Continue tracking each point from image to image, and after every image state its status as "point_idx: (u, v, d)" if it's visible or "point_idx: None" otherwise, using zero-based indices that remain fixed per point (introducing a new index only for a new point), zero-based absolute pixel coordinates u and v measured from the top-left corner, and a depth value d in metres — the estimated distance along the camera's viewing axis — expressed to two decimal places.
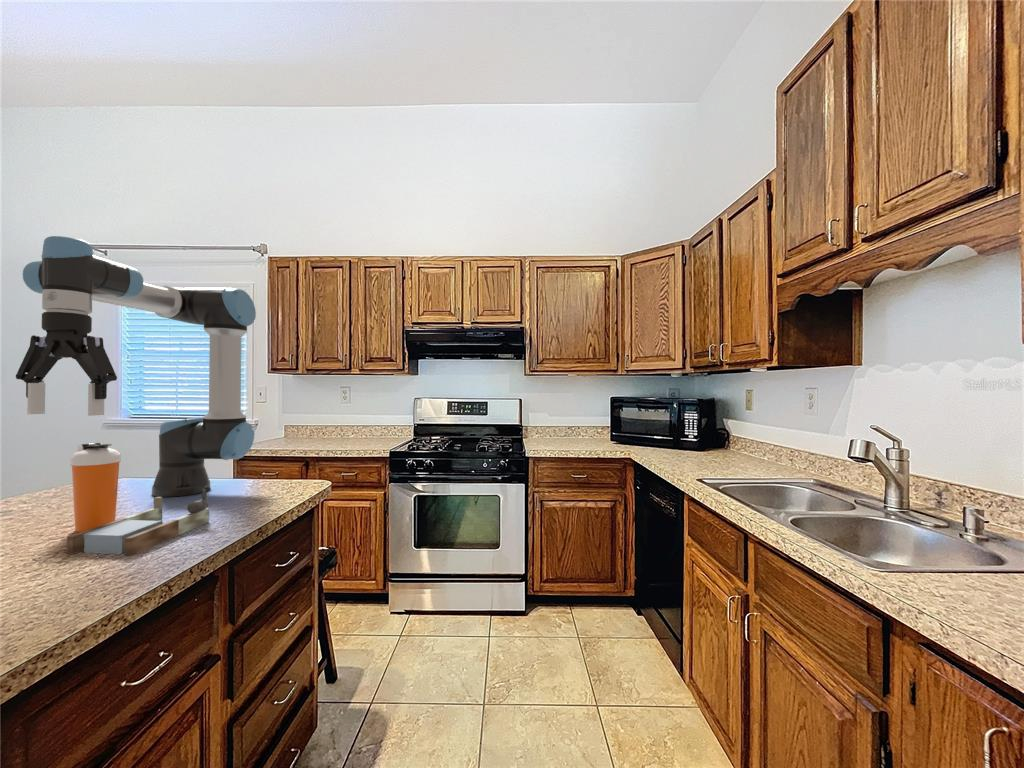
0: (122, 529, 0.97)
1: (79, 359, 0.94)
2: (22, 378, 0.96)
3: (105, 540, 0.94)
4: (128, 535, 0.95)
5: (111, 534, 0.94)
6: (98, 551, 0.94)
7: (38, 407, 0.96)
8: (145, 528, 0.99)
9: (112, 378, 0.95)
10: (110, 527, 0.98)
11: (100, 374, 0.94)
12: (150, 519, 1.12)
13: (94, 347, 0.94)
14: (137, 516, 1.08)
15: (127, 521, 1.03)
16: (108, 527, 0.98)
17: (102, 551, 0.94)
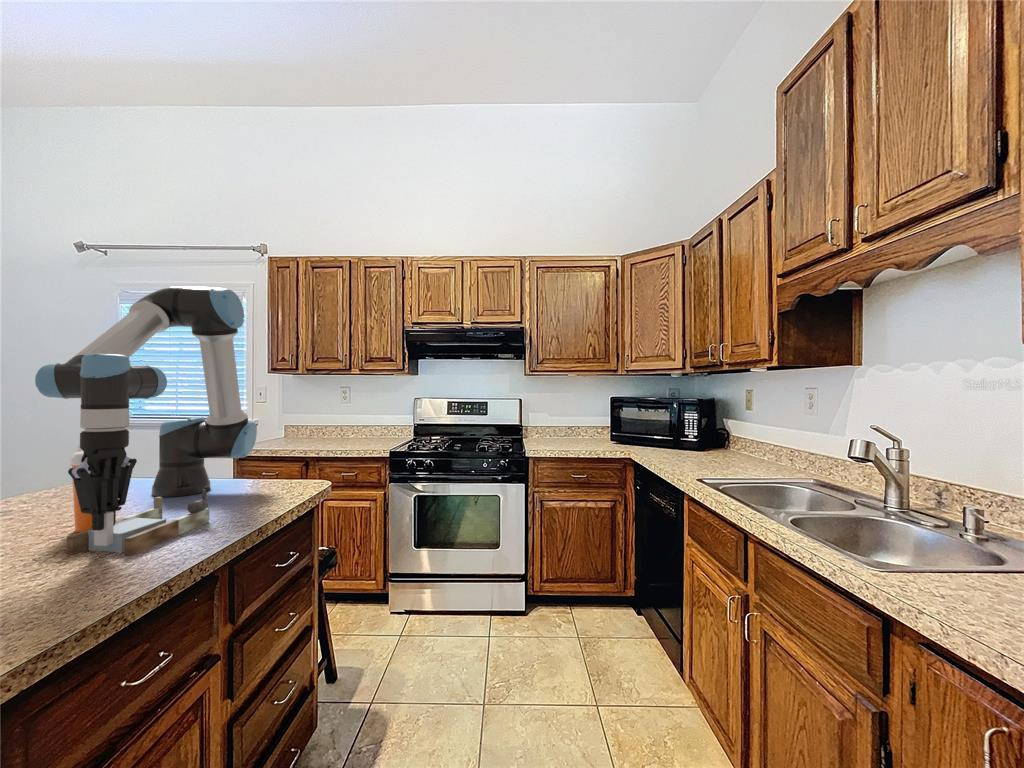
0: (125, 527, 0.98)
1: None
2: None
3: None
4: (128, 533, 0.96)
5: (113, 532, 0.95)
6: (101, 548, 0.95)
7: None
8: (147, 526, 1.00)
9: (88, 511, 0.90)
10: (115, 524, 1.00)
11: None
12: None
13: (75, 480, 0.89)
14: (137, 516, 1.08)
15: (134, 519, 1.04)
16: None
17: (104, 548, 0.95)
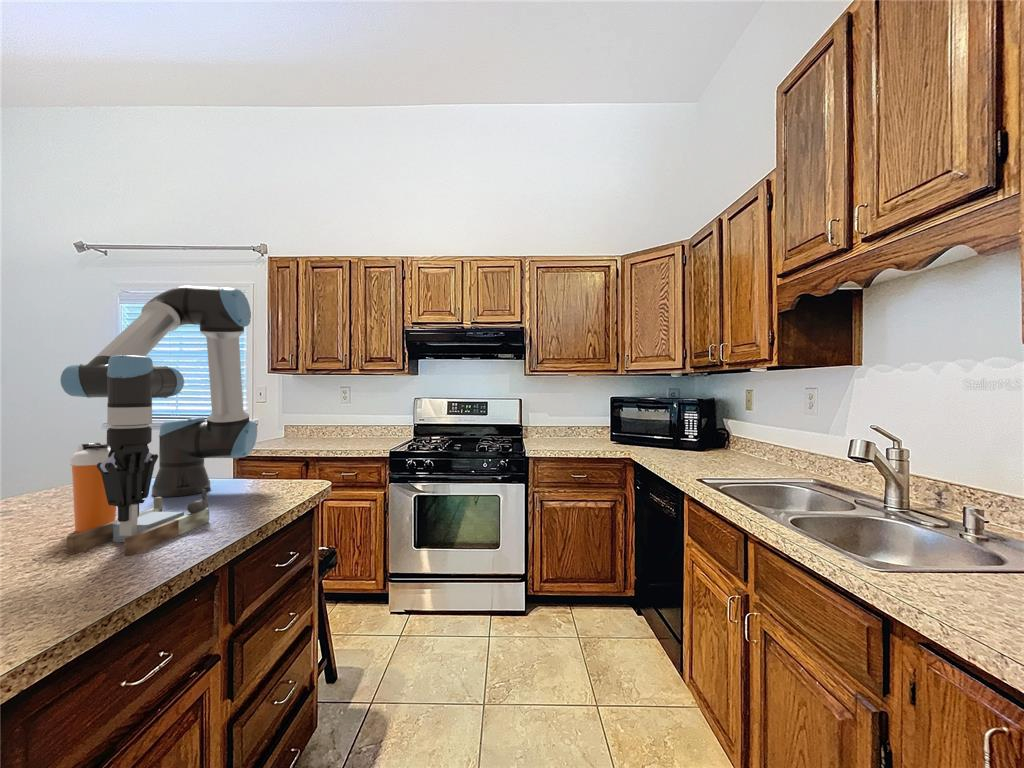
0: (147, 519, 1.04)
1: None
2: None
3: None
4: (154, 524, 1.02)
5: (138, 523, 1.01)
6: None
7: None
8: (169, 518, 1.06)
9: (114, 503, 0.96)
10: None
11: None
12: None
13: (103, 474, 0.94)
14: None
15: (151, 512, 1.09)
16: None
17: None
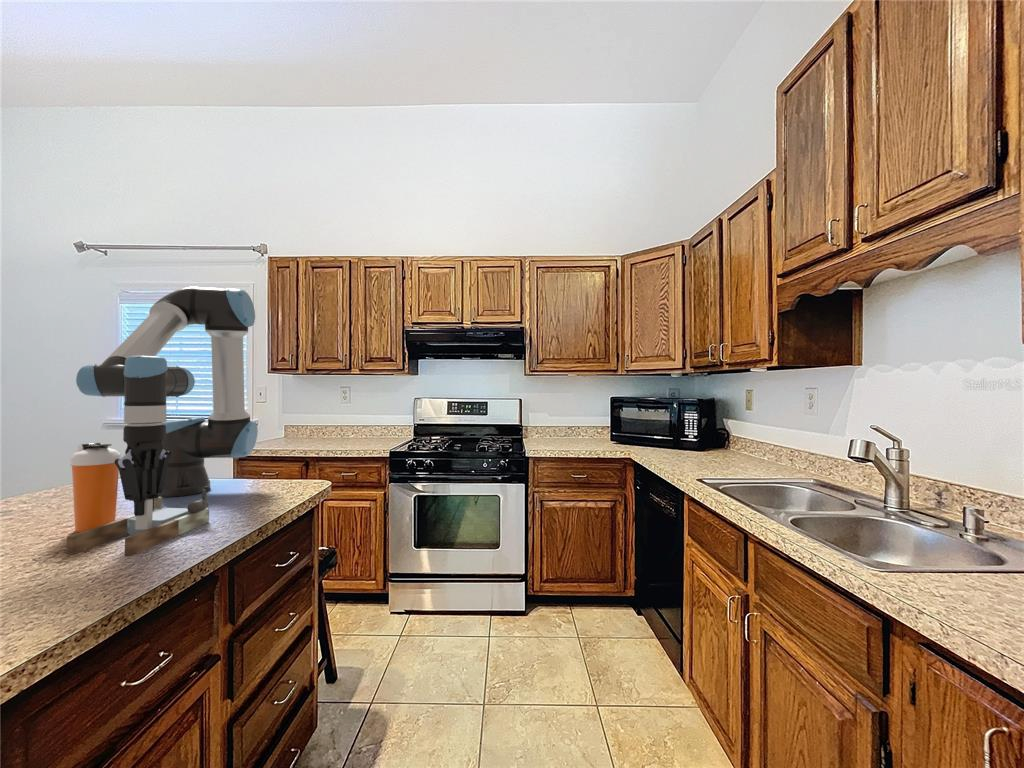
0: (162, 515, 1.08)
1: None
2: None
3: None
4: (168, 520, 1.06)
5: (153, 519, 1.05)
6: None
7: None
8: (182, 514, 1.10)
9: (131, 498, 1.00)
10: None
11: None
12: None
13: (120, 470, 0.98)
14: None
15: (164, 509, 1.13)
16: None
17: None
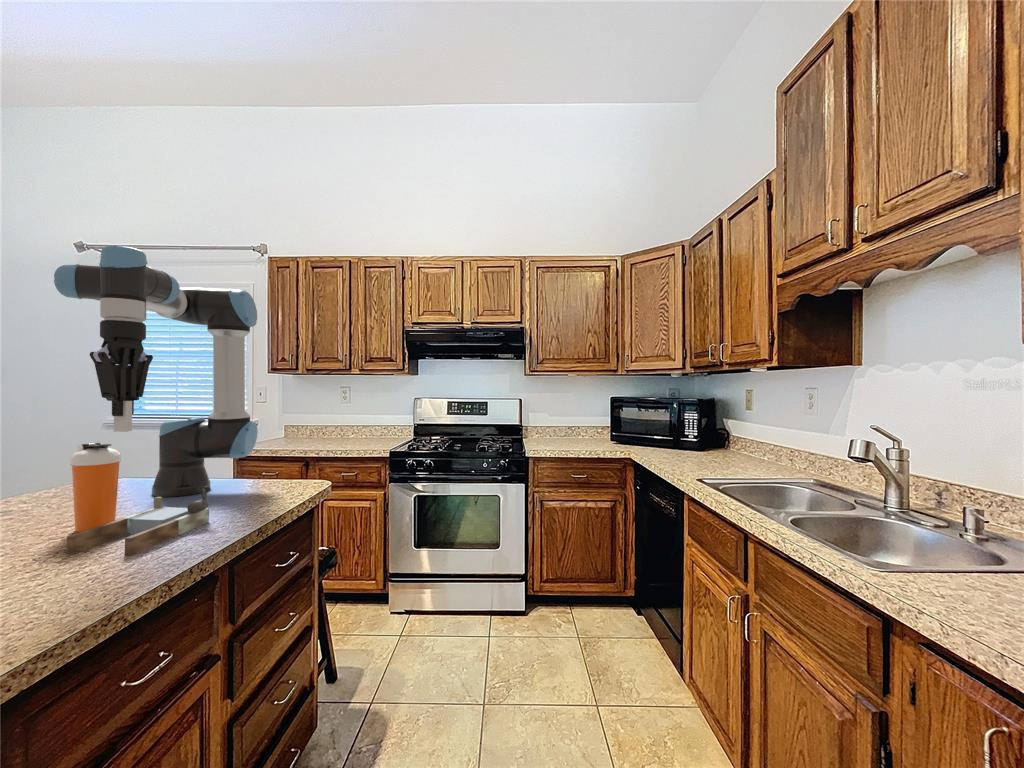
0: (162, 515, 1.08)
1: None
2: None
3: (148, 523, 1.04)
4: (168, 520, 1.06)
5: (153, 519, 1.05)
6: None
7: None
8: (182, 514, 1.10)
9: (108, 396, 0.94)
10: (151, 513, 1.09)
11: None
12: None
13: (96, 364, 0.93)
14: None
15: (166, 508, 1.14)
16: (150, 513, 1.09)
17: None
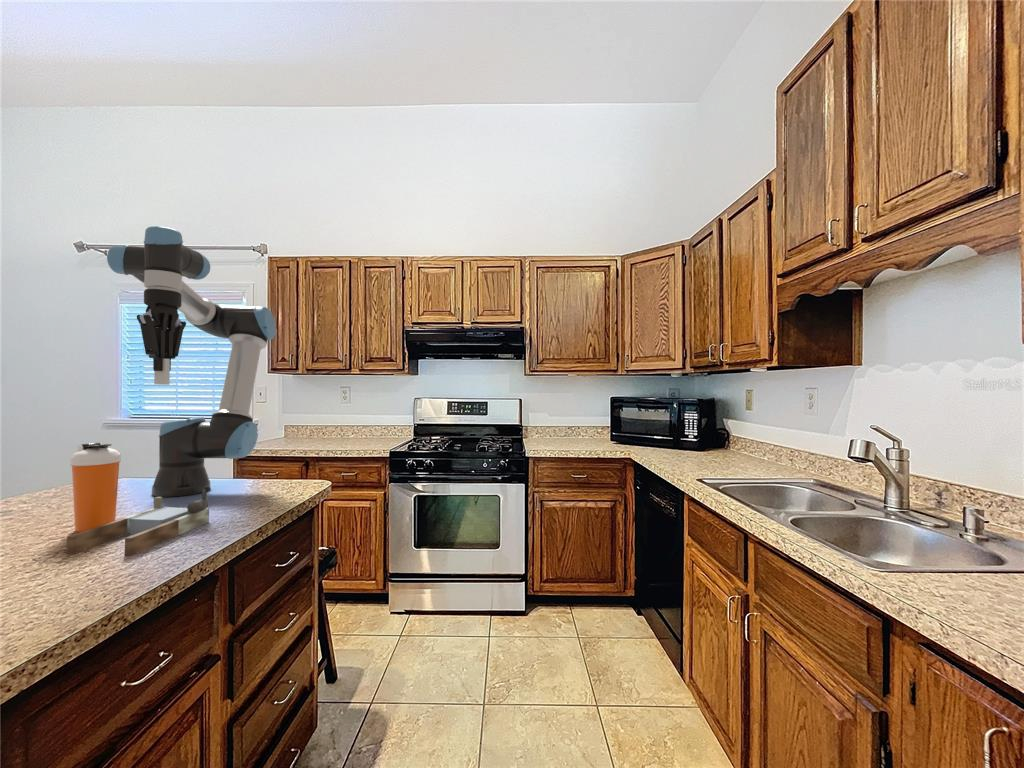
0: (162, 515, 1.08)
1: None
2: None
3: (148, 523, 1.04)
4: (168, 520, 1.06)
5: (153, 519, 1.05)
6: None
7: None
8: (182, 514, 1.10)
9: (151, 353, 1.11)
10: (152, 513, 1.09)
11: None
12: None
13: (141, 325, 1.10)
14: None
15: (166, 508, 1.14)
16: (150, 513, 1.09)
17: None
